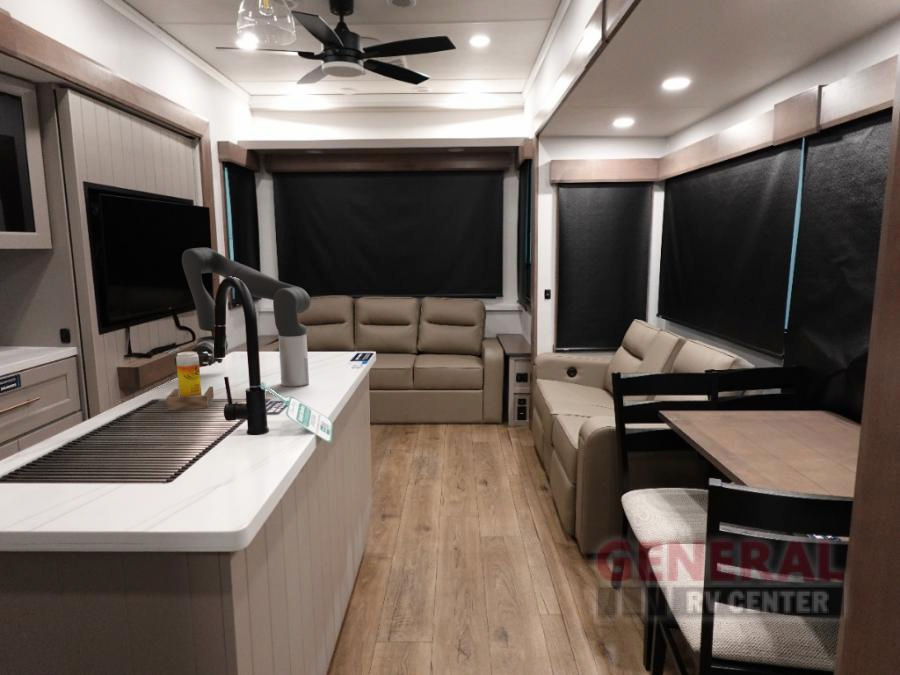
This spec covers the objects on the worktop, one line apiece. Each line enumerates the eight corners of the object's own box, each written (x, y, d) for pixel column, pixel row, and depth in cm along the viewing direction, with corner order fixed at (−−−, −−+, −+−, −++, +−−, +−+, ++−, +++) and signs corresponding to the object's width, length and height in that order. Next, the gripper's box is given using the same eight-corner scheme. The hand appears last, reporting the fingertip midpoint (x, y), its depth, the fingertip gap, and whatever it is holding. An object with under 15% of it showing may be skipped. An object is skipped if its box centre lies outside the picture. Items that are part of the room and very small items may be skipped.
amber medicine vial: (196, 404, 164) (192, 355, 161) (176, 404, 164) (171, 355, 161) (205, 398, 170) (201, 351, 167) (186, 398, 170) (182, 351, 167)
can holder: (213, 397, 173) (212, 386, 173) (207, 407, 163) (206, 395, 162) (175, 400, 171) (174, 388, 170) (167, 410, 160) (165, 398, 159)
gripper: (180, 343, 187) (169, 352, 171) (225, 341, 190) (218, 350, 175) (182, 365, 188) (171, 376, 173) (227, 362, 192) (219, 373, 176)
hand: (194, 363), depth 174 cm, fingers open, 8 cm apart
